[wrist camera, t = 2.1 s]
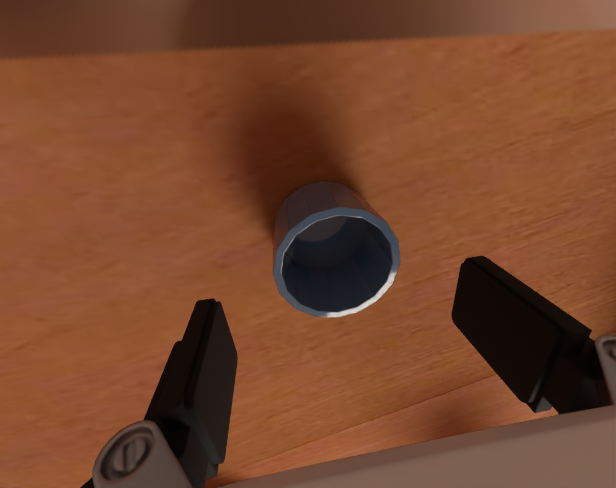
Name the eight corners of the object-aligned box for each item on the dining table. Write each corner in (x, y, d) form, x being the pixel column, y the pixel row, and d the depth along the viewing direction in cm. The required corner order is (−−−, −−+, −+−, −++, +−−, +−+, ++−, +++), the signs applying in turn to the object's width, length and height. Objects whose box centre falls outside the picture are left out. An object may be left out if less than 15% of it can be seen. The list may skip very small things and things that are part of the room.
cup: (253, 221, 16) (245, 261, 12) (336, 158, 15) (360, 179, 11) (311, 284, 19) (321, 335, 14) (385, 235, 17) (419, 274, 13)
